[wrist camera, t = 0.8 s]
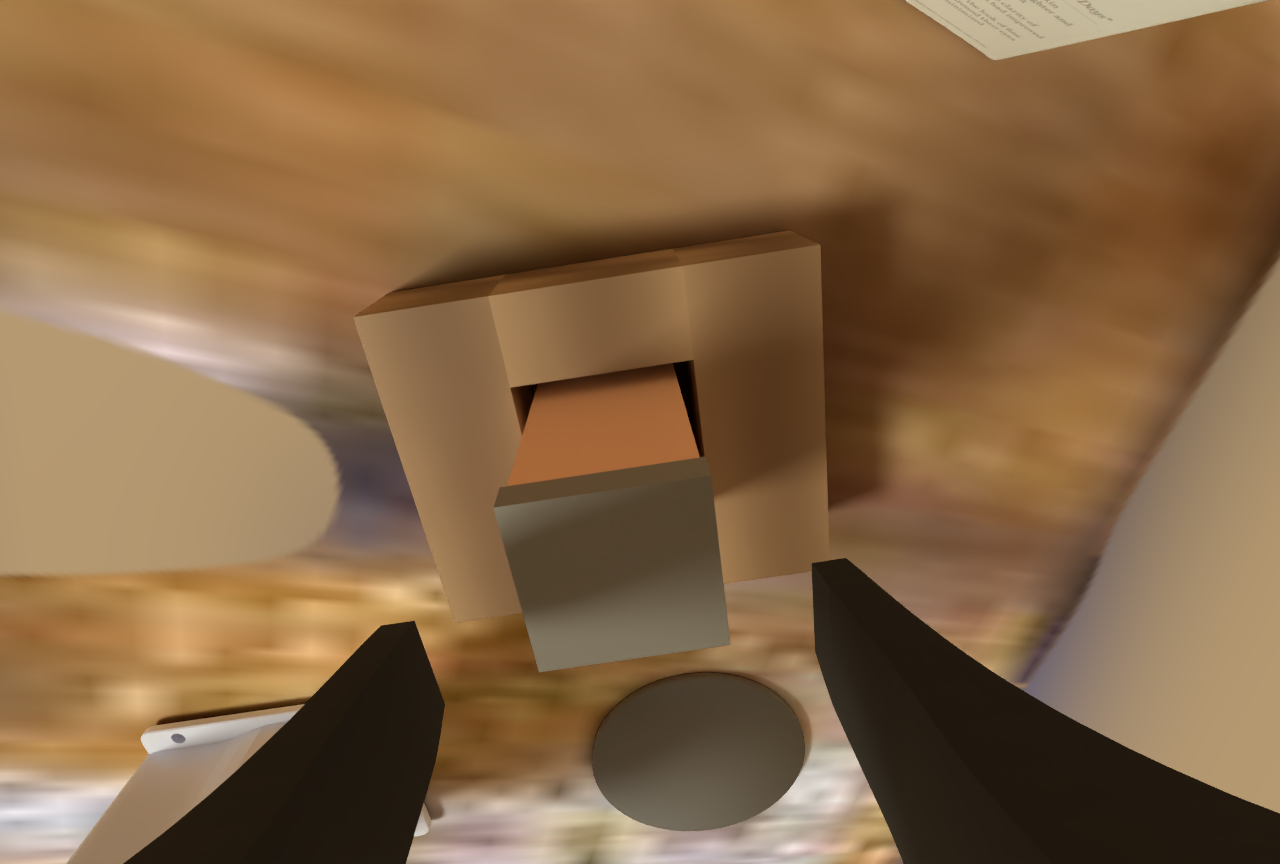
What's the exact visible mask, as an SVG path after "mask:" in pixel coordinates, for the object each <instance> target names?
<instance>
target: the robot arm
mask: <svg viewBox="0 0 1280 864" xmlns="http://www.w3.org/2000/svg"><path fill="white" fill-rule="evenodd" d="M812 584H813V608H814V632H815V652H816V655H817V658H818V661H819V664H820V668H821V671H822V674H823V677H824V680H825V683H826V686H827V689H828V692H829V695H830V698H831V701H832V704H833V706H834V709H835V711H836V713H837V715H838V718H839V720H840V722H841V724H842V726H843V729H844V731H845V733H846V735H847V737H848V740H849V742H850V744H851V746H852V748H853V751H854V753H855V755H856V757H857V759H858V761H859V764H860V766H861V768H862V770H863V772H864V774H865V777H866V779H867V781H868V783H869V785H870V788H871V790H872V792H873V794H874V796H875V798H876V801H877V803H878V805H879V807H880V809H881V811H882V814H883V816H884V818H885V820H886V822H887V824H888V827H889V829H890V831H891V834H892V836H893V838H894V841H895V843H896V846H897V848H898V850H899V853H900V855H901V858H902V860H903V863H904V864H1280V814H1279V813H1277V812H1274V811H1272V810H1269V809H1266V808H1264V807H1261V806H1259V805H1256V804H1254V803H1251V802H1248V801H1245V800H1243V799H1241V798H1238V797H1236V796H1233V795H1231V794H1229V793H1226V792H1224V791H1221V790H1219V789H1217V788H1215V787H1212V786H1210V785H1208V784H1205V783H1203V782H1201V781H1199V780H1196V779H1194V778H1192V777H1190V776H1187V775H1185V774H1183V773H1181V772H1178V771H1176V770H1174V769H1171V768H1169V767H1167V766H1165V765H1163V764H1161V763H1158V762H1156V761H1154V760H1152V759H1150V758H1148V757H1146V756H1144V755H1142V754H1139V753H1137V752H1135V751H1133V750H1131V749H1129V748H1127V747H1125V746H1123V745H1121V744H1119V743H1117V742H1115V741H1113V740H1111V739H1109V738H1107V737H1105V736H1103V735H1102V734H1100V733H1098V732H1096V731H1094V730H1092V729H1090V728H1088V727H1086V726H1084V725H1082V724H1080V723H1078V722H1076V721H1075V720H1073V719H1071V718H1069V717H1067V716H1066V715H1064V714H1062V713H1060V712H1058V711H1056V710H1055V709H1053V708H1051V707H1049V706H1048V705H1046V704H1044V703H1043V702H1041V701H1039V700H1038V699H1036V698H1034V697H1033V696H1031V695H1029V694H1028V693H1026V692H1024V691H1023V690H1021V689H1019V688H1018V687H1016V686H1014V685H1013V684H1011V683H1009V682H1008V681H1006V680H1004V679H1003V678H1001V677H1000V676H998V675H997V674H995V673H994V672H992V671H990V670H989V669H987V668H986V667H984V666H983V665H982V664H980V663H979V662H977V661H976V660H974V659H973V658H971V657H970V656H969V655H967V654H966V653H964V652H963V651H961V650H960V649H959V648H957V647H956V646H954V645H953V644H952V643H950V642H949V641H948V640H946V639H945V638H944V637H942V636H941V635H940V634H938V633H937V632H936V631H934V630H933V629H932V628H931V627H929V626H928V625H927V624H925V623H924V622H923V621H921V620H920V619H919V618H918V617H916V616H915V615H914V614H912V613H911V612H910V611H909V610H907V609H906V608H905V607H904V606H903V605H901V604H900V603H899V602H898V601H896V600H895V599H894V598H893V597H892V596H890V595H889V594H888V593H887V592H886V591H884V590H883V589H882V588H881V587H880V586H879V585H877V584H876V583H875V582H874V581H873V580H871V579H870V578H869V577H868V576H867V575H866V574H864V573H863V572H862V571H861V570H860V569H859V568H857V567H856V566H855V565H854V564H853V563H851V562H850V561H849V560H848V559H846V558H843V559H836V560H829V561H823V562H816V563H812ZM444 707H445V703H444V700H443V698H442V695H441V692H440V690H439V687H438V684H437V681H436V679H435V676H434V673H433V670H432V668H431V665H430V662H429V659H428V657H427V654H426V651H425V649H424V646H423V643H422V640H421V638H420V635H419V632H418V629H417V627H416V624H415V621H410V622H403V623H396V624H390V625H383V626H381V627H380V628H378V629H377V630H376V631H375V632H374V633H373V634H372V635H371V636H370V637H369V638H368V639H367V640H366V641H365V642H364V643H363V644H362V645H361V646H360V647H359V648H358V649H357V650H356V652H355V653H354V654H353V655H352V656H351V657H350V658H349V659H348V660H347V661H346V662H345V663H344V664H343V665H342V666H341V667H340V668H339V669H338V670H337V671H336V672H335V674H334V675H333V676H332V677H331V678H330V679H329V680H328V681H327V682H326V683H325V684H324V685H323V686H322V687H321V688H320V689H319V690H318V691H317V692H316V693H315V694H314V695H313V696H312V697H311V698H310V699H309V700H308V701H307V702H306V704H301V705H294V706H287V707H280V708H273V709H267V710H260V711H253V712H246V713H239V714H232V715H225V716H218V717H211V718H204V719H197V720H190V721H183V722H176V723H169V724H162V725H155V726H151V727H149V728H148V729H147V730H146V731H145V732H144V733H143V735H142V736H141V742H142V744H143V746H144V747H145V749H146V750H147V752H148V753H149V755H148V756H147V757H146V759H145V760H144V761H143V763H142V764H141V765H140V767H139V768H138V769H137V771H136V772H135V773H134V774H133V776H132V777H131V778H130V780H129V781H128V782H127V784H126V785H125V786H124V788H123V789H122V790H121V792H120V793H119V794H118V796H117V797H116V798H115V800H114V801H113V802H112V804H111V805H110V806H109V808H108V809H107V810H106V812H105V813H104V814H103V816H102V817H101V818H100V820H99V821H98V822H97V823H96V825H95V826H94V827H93V829H92V830H91V831H90V833H89V834H88V835H87V837H86V838H85V839H84V841H83V842H82V843H81V845H80V846H79V847H78V849H77V850H76V851H75V853H74V854H73V855H72V857H71V858H70V859H69V861H68V862H67V863H66V864H406V861H407V857H408V854H409V850H410V847H411V844H412V840H413V837H414V836H420V835H424V834H426V833H427V832H428V831H429V829H430V825H431V818H430V816H429V814H428V811H427V809H426V806H425V804H424V800H425V797H426V793H427V790H428V786H429V783H430V779H431V776H432V772H433V769H434V765H435V761H436V756H437V751H438V745H439V739H440V733H441V727H442V720H443V713H444Z"/></svg>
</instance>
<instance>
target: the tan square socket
mask: <svg viewBox="0 0 1280 864" xmlns="http://www.w3.org/2000/svg"><path fill="white" fill-rule="evenodd" d="M353 318H354V321H355V324H356V327H357V330H358V333H359V336H360V339H361V342H362V345H363V348H364V351H365V354H366V357H367V360H368V363H369V366H370V369H371V372H372V375H373V378H374V381H375V384H376V387H377V390H378V393H379V396H380V399H381V402H382V405H383V408H384V411H385V414H386V417H387V420H388V423H389V426H390V429H391V432H392V435H393V438H394V441H395V444H396V447H397V450H398V453H399V456H400V459H401V462H402V465H403V468H404V471H405V474H406V477H407V480H408V483H409V486H410V489H411V492H412V495H413V498H414V501H415V504H416V507H417V510H418V513H419V516H420V519H421V522H422V525H423V528H424V531H425V534H426V537H427V540H428V543H429V546H430V549H431V552H432V555H433V558H434V561H435V564H436V567H437V570H438V573H439V576H440V579H441V582H442V585H443V588H444V591H445V594H446V597H447V600H448V603H449V606H450V609H451V612H452V615H453V618H454V621H455V623H458V622H465V621H472V620H479V619H486V618H493V617H500V616H506V615H513V614H520V613H522V610H521V606H520V602H519V599H518V595H517V591H516V588H515V584H514V581H513V577H512V573H511V570H510V566H509V563H508V559H507V555H506V552H505V548H504V544H503V541H502V537H501V534H500V530H499V526H498V523H497V519H496V516H495V512H494V508H493V507H494V504H495V501H496V498H497V495H498V491H499V488H500V487H505V486H507V485H508V482H509V479H510V475H511V472H512V468H513V465H514V462H515V458H516V455H517V452H518V448H519V445H520V442H521V438H522V435H523V432H524V428H525V425H526V422H527V418H528V415H529V412H530V408H531V405H532V402H533V393H532V389H531V384H538V383H544V382H551V381H557V380H564V379H570V378H577V377H583V376H590V375H597V374H603V373H610V372H616V371H623V370H629V369H636V368H643V367H649V366H656V365H662V364H669V363H675V362H682V361H686V367H687V375H688V383H689V391H690V400H691V408H692V416H693V424H694V433H695V441H696V446H697V449H698V453H699V456H700V457H706V460H707V463H708V466H709V469H710V473H711V477H712V486H713V495H714V504H715V513H716V522H717V531H718V539H719V548H720V557H721V566H722V575H723V584H727V583H733V582H740V581H747V580H754V579H761V578H768V577H775V576H782V575H789V574H795V573H802V572H809V571H812V563H816V562H823V561H829V526H828V491H827V455H826V420H825V385H824V350H823V315H822V280H821V245H820V244H818V243H816V242H814V241H812V240H810V239H807V238H805V237H803V236H801V235H799V234H797V233H795V232H793V231H791V230H788V231H782V232H775V233H769V234H763V235H756V236H750V237H743V238H737V239H730V240H724V241H718V242H711V243H705V244H698V245H692V246H685V247H679V248H673V249H666V250H660V251H653V252H647V253H640V254H634V255H628V256H621V257H615V258H608V259H602V260H595V261H589V262H583V263H576V264H570V265H563V266H557V267H551V268H544V269H538V270H531V271H525V272H518V273H512V274H506V275H499V276H493V277H486V278H480V279H473V280H467V281H461V282H454V283H448V284H441V285H435V286H428V287H422V288H416V289H409V290H403V291H396V292H390V293H388V294H387V295H385V296H384V297H382V298H381V299H379V300H378V301H376V302H375V303H373V304H372V305H370V306H369V307H367V308H366V309H364V310H363V311H362V312H360V313H359V314H357V315H356V316H354V317H353Z"/></svg>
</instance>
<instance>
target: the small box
mask: <svg viewBox="0 0 1280 864" xmlns="http://www.w3.org/2000/svg"><path fill="white" fill-rule="evenodd" d="M905 1H907V2H908V3H909V4H911V5H912V6H914V7H915V8H917V9H919V10H920V11H922V12H923V13H925V14H926V15H928V16H929V17H931V18H932V19H934V20H935V21H937V22H938V23H940V24H941V25H943V26H945V27H946V28H947V29H949V30H950V31H952V32H953V33H955V34H956V35H958V36H959V37H961V38H962V39H964V40H965V41H967V42H968V43H969V44H971V45H972V46H974V47H975V48H977V49H978V50H980V51H981V52H982V53H984V54H985V55H986V56H988V57H989V58H991V59H993V60H1001V59H1006V58H1010V57H1015V56H1020V55H1024V54H1029V53H1033V52H1037V51H1043V50H1048V49H1052V48H1056V47H1061V46H1066V45H1070V44H1075V43H1079V42H1084V41H1088V40H1093V39H1097V38H1102V37H1106V36H1111V35H1115V34H1120V33H1125V32H1129V31H1134V30H1138V29H1143V28H1147V27H1152V26H1156V25H1161V24H1165V23H1169V22H1174V21H1178V20H1183V19H1187V18H1192V17H1196V16H1200V15H1204V14H1209V13H1214V12H1218V11H1222V10H1226V9H1231V8H1235V7H1240V6H1244V5H1249V4H1254V3H1258V2H1263V1H1268V0H905Z"/></svg>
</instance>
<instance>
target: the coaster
mask: <svg viewBox="0 0 1280 864" xmlns="http://www.w3.org/2000/svg"><path fill="white" fill-rule="evenodd" d="M804 754H805V744H804V737H803V734H802V731H801V728H800V725H799V722H798V719H797V717H796V715H795V714H794V712H793V710H792V709H791V708H790V706H789V705H788V704H787V703H786V701H784V700H783V699H782V698H781V697H780V696H779V695H778V694H776V693H775V692H773V691H772V690H770V689H769V688H767V687H766V686H763V685H761V684H759V683H757V682H755V681H752V680H749V679H746V678H743V677H739V676H735V675H730V674H722V673H691V674H683V675H678V676H673V677H669V678H666V679H662V680H659V681H656V682H654V683H651V684H649V685H647V686H644V687H643V688H641V689H639V690H637V691H635V692H633V693H632V694H630V695H629V696H628V697H626V698H625V699H623V700H622V701H621V702H620V703H619V704H618V705H616V706H615V707H614V708H613V709H612V710H611V712H610V713H609V714H608V715H607V716H606V718H605V719H604V721H603V722H602V724H601V726H600V727H599V729H598V732H597V734H596V737H595V741H594V745H593V765H592V766H593V772H594V777H595V780H596V783H597V785H598V787H599V789H600V790H601V792H602V794H603V795H604V796H605V798H606V799H607V800H608V801H609V802H610V803H611V804H612V805H613V806H614V807H615V808H616V809H618V810H619V811H621V812H622V813H623V814H625V815H627V816H628V817H630V818H632V819H634V820H636V821H639V822H641V823H644V824H646V825H650V826H653V827H657V828H662V829H668V830H676V831H702V830H711V829H717V828H722V827H726V826H730V825H733V824H736V823H739V822H742V821H744V820H747V819H749V818H751V817H753V816H755V815H757V814H759V813H761V812H763V811H764V810H766V809H767V808H769V807H770V806H772V805H773V804H774V803H775V802H777V801H778V800H779V799H780V798H781V797H782V796H783V795H784V794H785V793H786V792H787V791H788V790H789V789H790V787H791V786H792V785H793V783H794V782H795V780H796V778H797V777H798V775H799V772H800V770H801V767H802V764H803V760H804Z"/></svg>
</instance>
